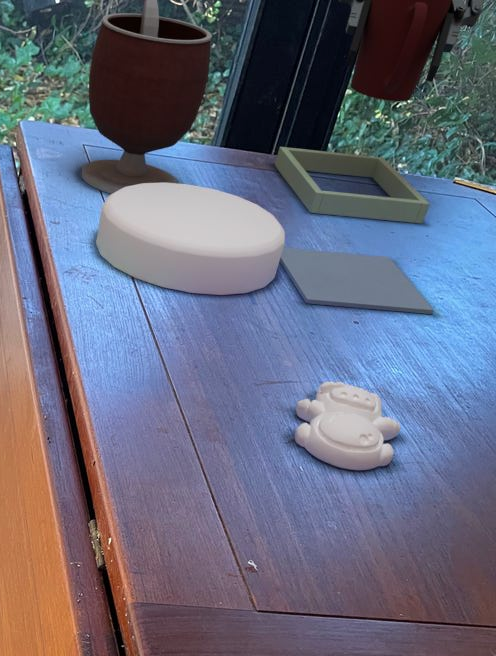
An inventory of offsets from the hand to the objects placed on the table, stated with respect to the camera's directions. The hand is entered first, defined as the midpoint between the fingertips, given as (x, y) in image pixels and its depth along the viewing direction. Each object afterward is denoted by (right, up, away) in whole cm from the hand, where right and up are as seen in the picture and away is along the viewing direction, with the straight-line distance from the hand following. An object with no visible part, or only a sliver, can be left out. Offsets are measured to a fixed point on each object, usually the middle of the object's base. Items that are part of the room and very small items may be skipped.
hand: (391, 66), depth 116 cm
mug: (+1, -1, +5) cm, 5 cm away
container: (-25, -25, -6) cm, 36 cm away
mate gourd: (-30, -8, +11) cm, 33 cm away
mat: (-7, -27, -6) cm, 29 cm away
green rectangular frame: (0, -7, +17) cm, 18 cm away
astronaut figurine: (-16, -49, -32) cm, 61 cm away
